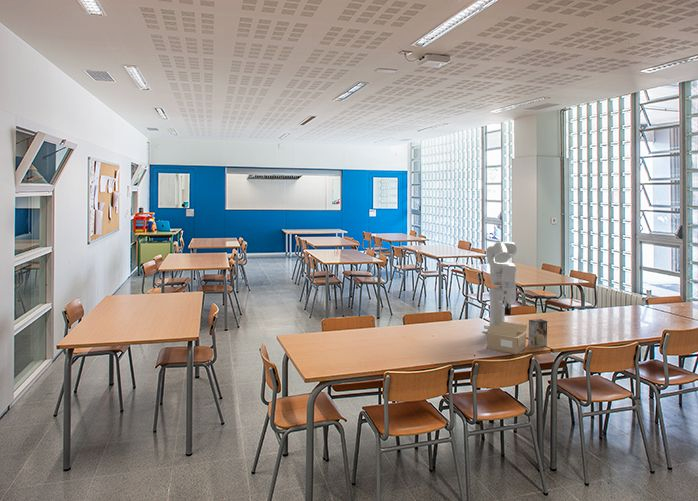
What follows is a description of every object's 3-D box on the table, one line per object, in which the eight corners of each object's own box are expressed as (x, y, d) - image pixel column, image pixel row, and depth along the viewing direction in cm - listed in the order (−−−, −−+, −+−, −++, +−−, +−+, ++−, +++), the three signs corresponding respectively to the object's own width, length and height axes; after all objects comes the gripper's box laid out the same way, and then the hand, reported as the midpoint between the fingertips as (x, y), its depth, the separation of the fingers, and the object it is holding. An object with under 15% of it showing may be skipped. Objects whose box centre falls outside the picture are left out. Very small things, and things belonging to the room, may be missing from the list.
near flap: (517, 329, 294) (517, 328, 294) (515, 336, 292) (515, 336, 292) (490, 324, 304) (490, 324, 304) (488, 332, 302) (488, 332, 302)
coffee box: (540, 343, 315) (541, 318, 314) (546, 346, 309) (547, 321, 307) (527, 344, 313) (528, 319, 311) (534, 347, 307) (535, 322, 305)
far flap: (501, 321, 318) (501, 321, 318) (498, 327, 315) (499, 327, 316) (527, 325, 308) (527, 325, 308) (524, 331, 305) (525, 331, 305)
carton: (486, 348, 304) (486, 332, 303) (496, 342, 317) (496, 327, 316) (517, 354, 293) (517, 337, 292) (526, 348, 305) (526, 332, 304)
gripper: (510, 286, 292) (509, 317, 294) (518, 284, 304) (517, 313, 306) (497, 285, 297) (496, 316, 299) (506, 282, 309) (505, 312, 310)
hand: (507, 314), depth 302 cm, fingers closed
